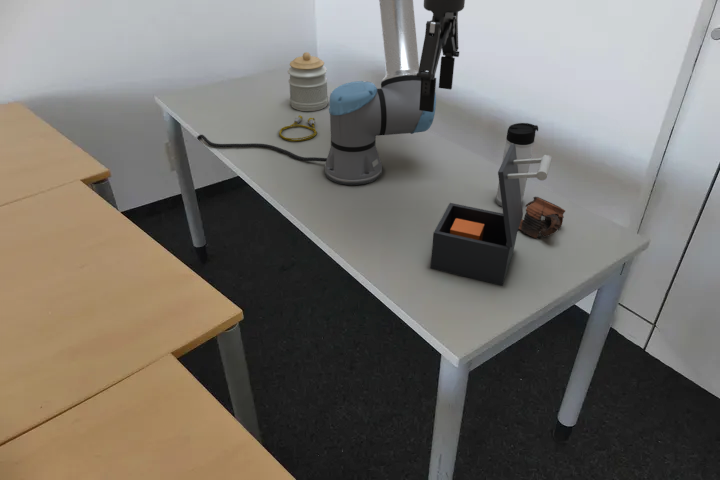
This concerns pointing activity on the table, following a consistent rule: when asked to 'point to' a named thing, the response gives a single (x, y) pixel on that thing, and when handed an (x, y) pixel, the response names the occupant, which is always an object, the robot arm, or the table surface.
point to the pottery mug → (534, 214)
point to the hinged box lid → (516, 188)
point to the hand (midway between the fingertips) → (436, 99)
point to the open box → (472, 246)
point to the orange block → (467, 229)
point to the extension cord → (298, 120)
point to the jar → (308, 83)
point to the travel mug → (520, 150)
